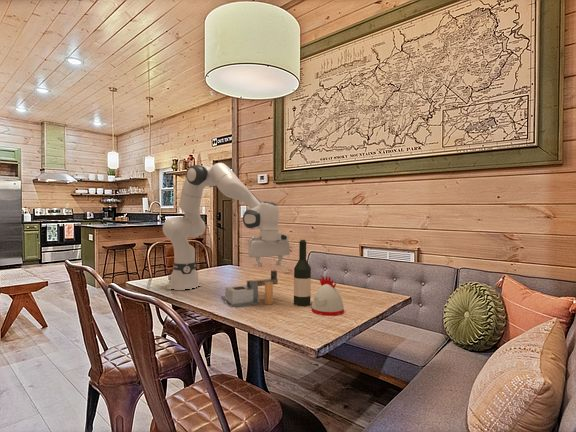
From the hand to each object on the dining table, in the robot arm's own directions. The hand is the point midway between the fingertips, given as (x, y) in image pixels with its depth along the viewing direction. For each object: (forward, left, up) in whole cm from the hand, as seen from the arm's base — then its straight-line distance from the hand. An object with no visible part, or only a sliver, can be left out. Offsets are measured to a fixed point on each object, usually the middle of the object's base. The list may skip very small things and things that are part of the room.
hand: (269, 266), depth 160 cm
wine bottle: (+7, +14, -18) cm, 24 cm away
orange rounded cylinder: (0, 0, -18) cm, 18 cm away
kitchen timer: (+22, +18, -18) cm, 34 cm away
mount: (-10, -11, -18) cm, 23 cm away
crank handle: (-7, 0, -10) cm, 12 cm away
